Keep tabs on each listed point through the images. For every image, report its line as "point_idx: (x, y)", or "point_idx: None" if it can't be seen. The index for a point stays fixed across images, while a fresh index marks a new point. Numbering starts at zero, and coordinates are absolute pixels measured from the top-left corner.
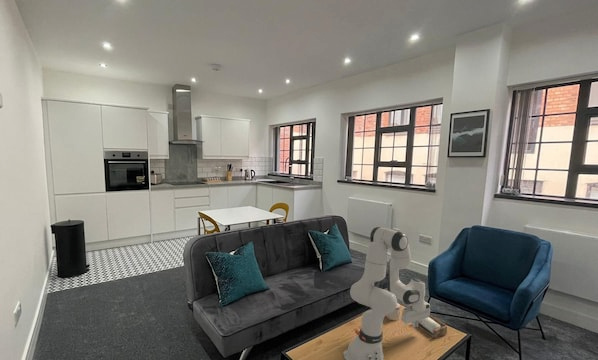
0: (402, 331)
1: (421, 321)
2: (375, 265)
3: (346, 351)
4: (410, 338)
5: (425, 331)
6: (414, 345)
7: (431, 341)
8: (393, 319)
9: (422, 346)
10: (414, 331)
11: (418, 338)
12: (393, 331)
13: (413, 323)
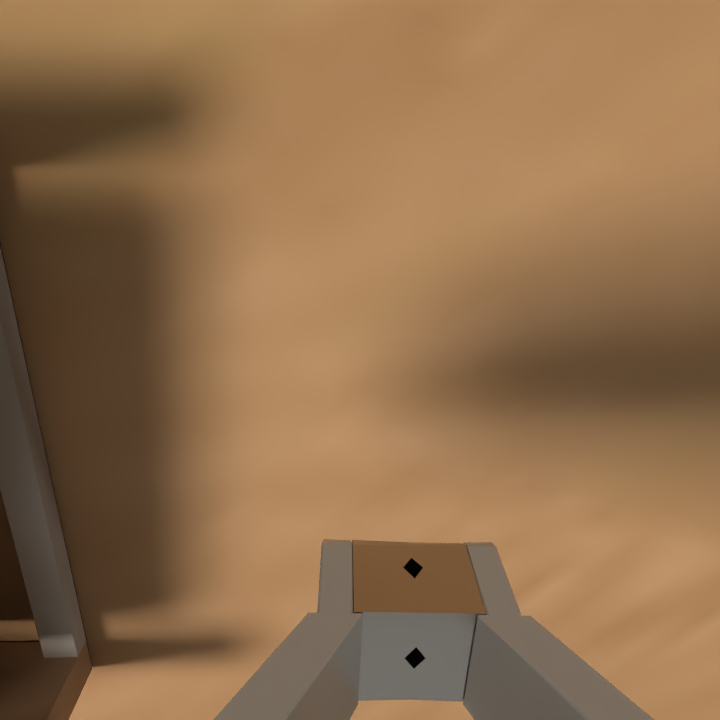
0: None
1: None
2: None
3: None
4: (555, 376)
5: (31, 411)
6: (707, 154)
7: (167, 64)
8: None
9: (572, 23)
10: (273, 504)
11: (390, 303)
12: (648, 635)
13: (601, 696)
